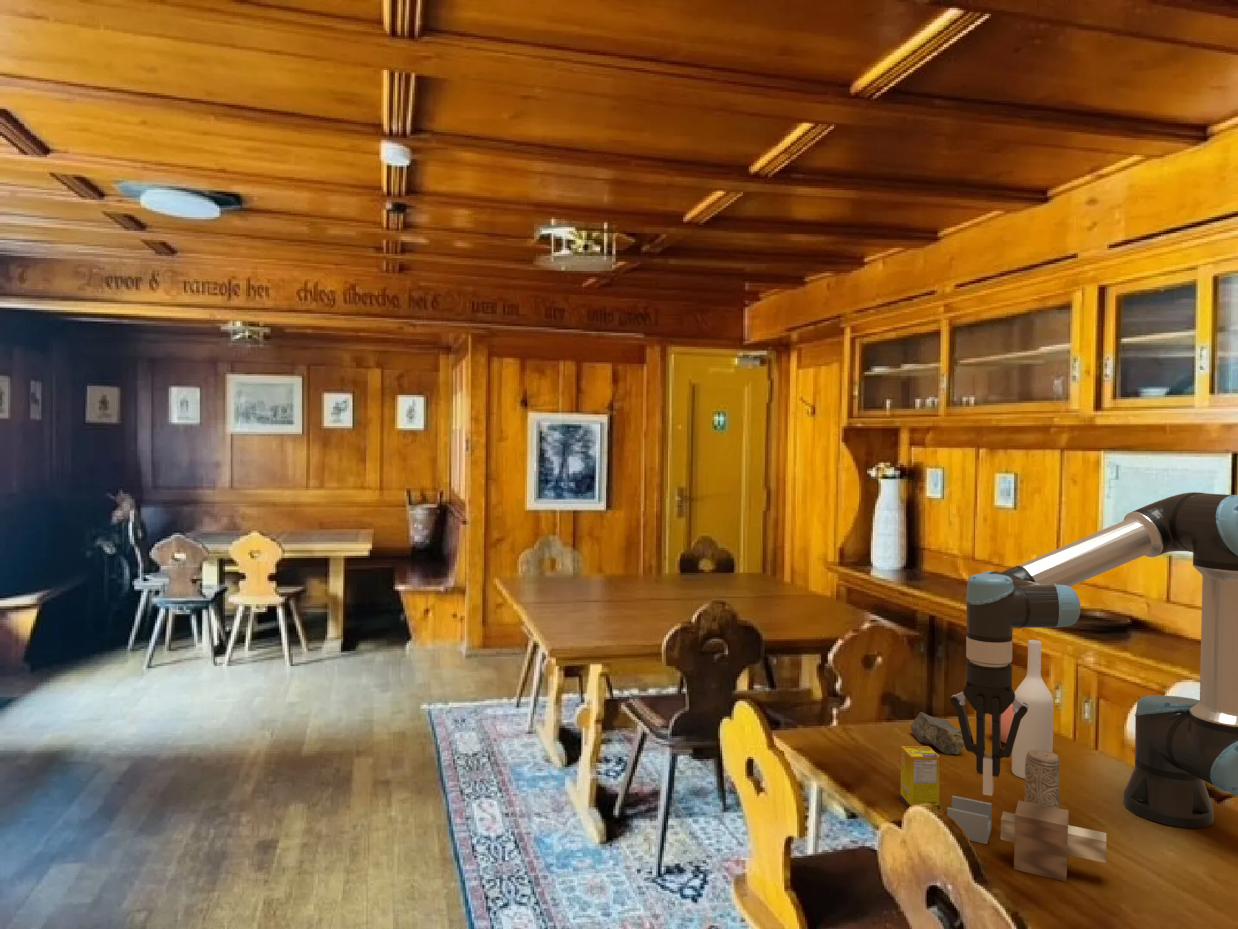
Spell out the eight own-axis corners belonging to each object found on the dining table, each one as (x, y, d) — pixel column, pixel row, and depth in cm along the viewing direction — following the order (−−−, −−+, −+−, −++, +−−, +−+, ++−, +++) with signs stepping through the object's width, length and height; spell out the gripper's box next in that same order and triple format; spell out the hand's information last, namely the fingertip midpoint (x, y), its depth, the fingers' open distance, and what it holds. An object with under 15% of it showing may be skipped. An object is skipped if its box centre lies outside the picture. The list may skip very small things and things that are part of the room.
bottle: (1013, 779, 184) (1017, 643, 183) (1009, 765, 192) (1012, 635, 191) (1054, 784, 181) (1058, 646, 181) (1048, 770, 189) (1051, 638, 188)
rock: (982, 736, 198) (949, 729, 195) (974, 764, 198) (941, 757, 195) (933, 711, 214) (902, 705, 211) (926, 737, 214) (895, 731, 211)
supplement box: (927, 797, 174) (928, 745, 174) (939, 810, 168) (940, 756, 168) (899, 797, 174) (900, 745, 173) (910, 810, 168) (911, 756, 167)
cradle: (991, 829, 159) (991, 803, 159) (987, 844, 153) (987, 817, 153) (952, 820, 163) (952, 795, 163) (946, 835, 157) (947, 809, 157)
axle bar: (1105, 854, 142) (1106, 833, 142) (1105, 863, 139) (1106, 841, 139) (1002, 831, 150) (1003, 811, 150) (1000, 839, 147) (1001, 819, 147)
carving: (1060, 810, 168) (1062, 751, 168) (1058, 824, 162) (1060, 763, 162) (1025, 803, 172) (1027, 745, 171) (1022, 816, 165) (1023, 756, 165)
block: (1067, 863, 147) (1068, 810, 146) (1066, 881, 140) (1067, 826, 140) (1017, 852, 150) (1018, 800, 150) (1013, 869, 144) (1015, 815, 144)
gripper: (1030, 661, 149) (1029, 792, 150) (952, 652, 155) (952, 778, 156) (1028, 671, 143) (1027, 808, 143) (947, 662, 149) (946, 793, 150)
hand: (988, 792), depth 150 cm, fingers closed
